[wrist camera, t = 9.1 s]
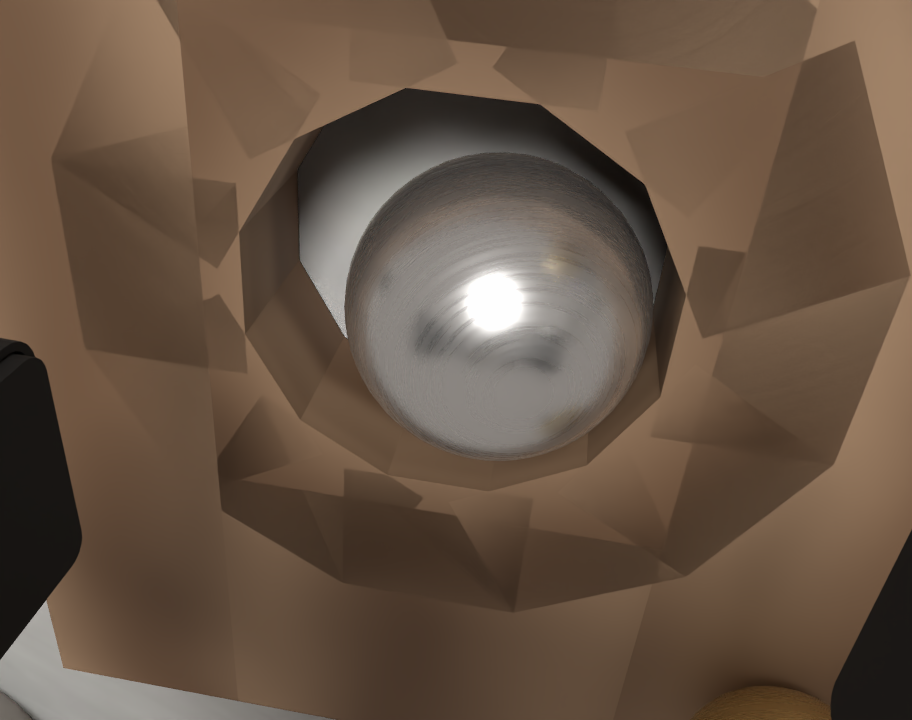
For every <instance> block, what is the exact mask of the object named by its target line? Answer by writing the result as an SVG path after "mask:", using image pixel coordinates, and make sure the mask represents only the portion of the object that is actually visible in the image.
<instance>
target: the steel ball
mask: <svg viewBox="0 0 912 720" xmlns="http://www.w3.org/2000/svg"><path fill="white" fill-rule="evenodd" d="M344 308H345V324H346V330H347V336H348V341H349V345H350V350H351V353H352V356H353V358H354V361H355V363H356V366H357V368H358V371H359V373H360V375H361V377H362V379H363V381H364V383H365V384H366V386H367V388H368V390H369V391H370V393H371V394H372V395H373V397H374V398H375V399H376V400H377V402H378V403H379V404H380V406H381V407H382V408H383V409H384V411H385V412H386V413H387V414H388V415H389V416H390V417H391V418H392V419H393V420H394V421H395V422H397V423H398V424H399V425H400V426H402V427H403V428H404V429H405V430H407V431H408V432H410V433H411V434H412V435H414V436H415V437H417V438H418V439H420V440H422V441H423V442H425V443H427V444H429V445H431V446H433V447H436V448H438V449H441V450H443V451H446V452H448V453H451V454H454V455H458V456H462V457H466V458H470V459H477V460H484V461H509V460H519V459H525V458H530V457H534V456H538V455H542V454H545V453H548V452H551V451H554V450H556V449H559V448H561V447H563V446H565V445H567V444H569V443H571V442H573V441H575V440H577V439H578V438H580V437H582V436H583V435H585V434H586V433H588V432H589V431H591V430H592V429H593V428H594V427H596V426H597V425H598V424H599V423H601V422H602V421H603V420H604V419H605V418H606V417H607V416H608V415H609V414H610V413H611V412H612V411H613V410H614V408H615V407H616V406H617V405H618V404H619V402H620V401H621V400H622V398H623V397H624V396H625V394H626V393H627V391H628V390H629V388H630V386H631V385H632V383H633V382H634V380H635V378H636V376H637V374H638V372H639V370H640V367H641V365H642V363H643V359H644V356H645V353H646V350H647V347H648V343H649V340H650V335H651V328H652V319H653V292H652V285H651V278H650V273H649V269H648V265H647V262H646V259H645V255H644V252H643V250H642V248H641V245H640V243H639V241H638V239H637V237H636V235H635V233H634V231H633V229H632V227H631V225H630V224H629V223H628V221H627V220H626V218H625V217H624V215H623V214H622V212H621V211H620V210H619V209H618V208H617V207H616V206H615V205H614V203H613V202H612V201H611V200H610V199H609V198H608V197H607V196H606V195H605V194H604V193H603V192H602V191H601V190H600V189H599V188H597V187H596V186H595V185H593V184H592V183H591V182H590V181H588V180H587V179H585V178H584V177H582V176H580V175H578V174H577V173H575V172H573V171H571V170H570V169H568V168H566V167H564V166H562V165H559V164H557V163H554V162H552V161H549V160H547V159H543V158H539V157H535V156H531V155H526V154H516V153H506V152H497V153H480V154H474V155H467V156H463V157H460V158H456V159H453V160H449V161H446V162H444V163H442V164H439V165H437V166H435V167H432V168H430V169H428V170H427V171H425V172H423V173H421V174H420V175H418V176H416V177H415V178H413V179H412V180H411V181H409V182H408V183H407V184H405V185H404V186H403V187H401V188H400V189H399V190H398V191H397V192H395V193H394V194H393V195H392V196H391V197H390V198H389V199H388V200H387V201H386V202H385V203H384V204H383V205H382V207H381V208H380V209H379V211H378V212H377V213H376V214H375V216H374V217H373V218H372V220H371V221H370V223H369V224H368V226H367V228H366V230H365V231H364V233H363V235H362V237H361V239H360V241H359V243H358V246H357V248H356V251H355V253H354V256H353V258H352V261H351V265H350V269H349V273H348V277H347V284H346V294H345V305H344Z"/></svg>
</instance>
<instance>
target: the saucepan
mask: <svg viewBox="0 0 912 720" xmlns="http://www.w3.org/2000/svg"><path fill="white" fill-rule="evenodd" d="M0 720H32V718H31V717H30V716H29V715H28V714H27V713H26V712H25V711H24V710H23V709H22V708H21V707H20V706H19V705H18V704H17V703H15V702H14V701H13V700H12V699H10V698H9V697H8V696H7V695H5V694H4V693H3V692H1V691H0Z"/></svg>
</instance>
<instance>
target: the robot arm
mask: <svg viewBox="0 0 912 720" xmlns="http://www.w3.org/2000/svg"><path fill="white" fill-rule="evenodd" d="M81 544H82V530H81V525H80V521H79V516H78V512H77V507H76V502H75V498H74V493H73V488H72V484H71V479H70V475H69V470H68V465H67V461H66V456H65V452H64V447H63V442H62V438H61V433H60V429H59V424H58V419H57V415H56V410H55V405H54V401H53V396H52V392H51V387H50V382H49V378H48V373H47V369H46V367H45V364H44V363H43V361H42V360H41V359H39V358H36V357H35V355H34V352H33V350H32V349H31V348H30V347H29V345H28V344H26V343H23V342H21V341H16V340H10V339H4V338H0V659H1V658H2V657H3V655H4V654H5V653H6V652H7V650H8V649H9V648H10V646H11V645H12V644H13V642H14V641H15V640H16V639H17V637H18V636H19V635H20V633H21V632H22V631H23V629H24V628H25V627H26V626H27V624H28V623H29V622H30V620H31V619H32V618H33V616H34V615H35V614H36V613H37V611H38V610H39V609H40V607H41V606H42V605H43V603H44V602H45V601H46V600H47V598H48V597H49V596H50V594H51V593H52V592H53V590H54V589H55V588H56V587H57V585H58V584H59V583H60V581H61V580H62V579H63V577H64V576H65V575H66V574H67V572H68V571H69V570H70V568H71V567H72V566H73V564H74V563H75V561H76V559H77V557H78V554H79V552H80V548H81ZM830 708H831V720H912V530H911V532H910V534H909V536H908V538H907V540H906V542H905V544H904V546H903V548H902V550H901V552H900V554H899V556H898V558H897V560H896V562H895V564H894V566H893V568H892V570H891V572H890V574H889V576H888V578H887V580H886V582H885V584H884V586H883V588H882V590H881V592H880V594H879V596H878V598H877V600H876V602H875V604H874V606H873V608H872V610H871V612H870V614H869V616H868V618H867V620H866V622H865V624H864V626H863V628H862V630H861V632H860V634H859V636H858V638H857V640H856V642H855V643H854V645H853V647H852V649H851V651H850V653H849V655H848V657H847V659H846V661H845V663H844V665H843V667H842V669H841V671H840V673H839V675H838V677H837V679H836V681H835V684H834V687H833V690H832V695H831V704H830Z"/></svg>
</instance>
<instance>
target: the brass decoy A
mask: <svg viewBox="0 0 912 720" xmlns="http://www.w3.org/2000/svg"><path fill="white" fill-rule="evenodd" d="M690 720H831V708H830V705H828V704H826V703H825V702H823V701H821V700H819V699H817V698H815V697H813V696H810V695H808V694H806V693H803V692H800V691H796V690H792V689H788V688H783V687H776V686H752V687H745V688H740V689H737V690H734V691H731V692H728V693H726V694H723V695H721V696H719V697H717V698H715V699H713V700H712V701H710V702H709V703H707V704H706V705H705V706H703V707H702V708H701V709H700V710H698V711H697V712H696V713H695V714H694V715H693V717H692V718H691V719H690Z"/></svg>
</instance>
